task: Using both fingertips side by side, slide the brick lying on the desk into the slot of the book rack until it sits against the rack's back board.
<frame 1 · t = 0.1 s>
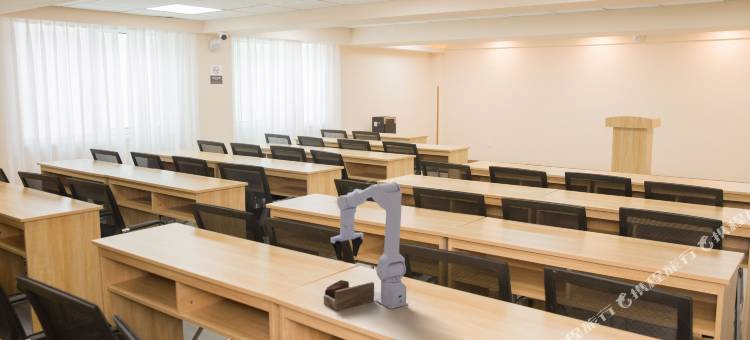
hand: (347, 257, 236), 10 cm above the table, tool pointing down, fingers open, 7 cm apart
brick: (337, 296, 222), on the table
book rack: (354, 305, 213), on the table
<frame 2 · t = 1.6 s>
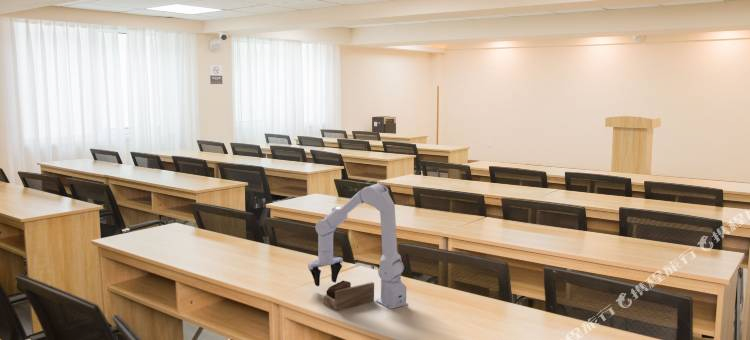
hand: (325, 283, 228), 2 cm above the table, tool pointing down, fingers open, 7 cm apart
nothing on the table moved.
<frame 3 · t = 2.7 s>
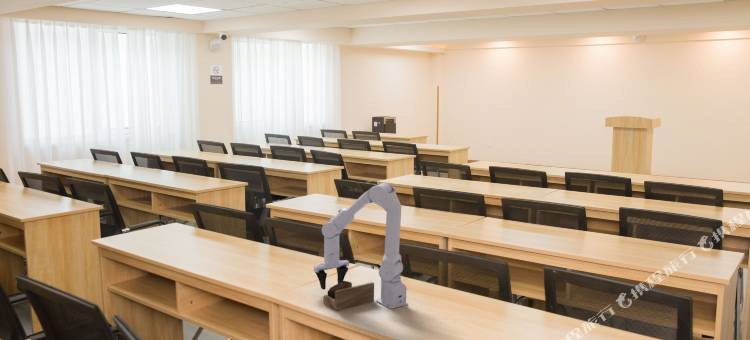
hand: (331, 286, 225), 2 cm above the table, tool pointing down, fingers open, 7 cm apart
brick: (339, 297, 221), on the table, touching gripper
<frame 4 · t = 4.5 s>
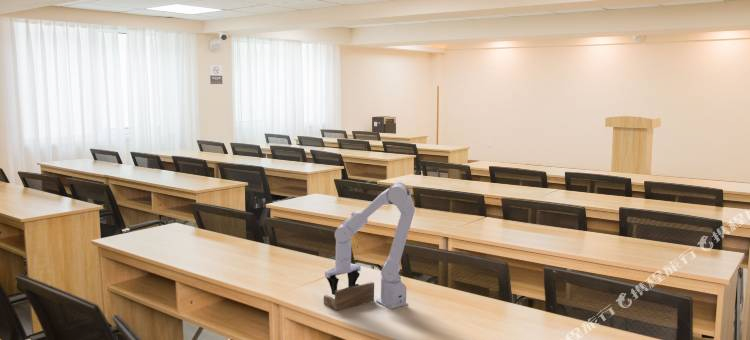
hand: (342, 292, 218), 3 cm above the table, tool pointing down, fingers open, 7 cm apart
brick: (348, 300, 217), on the table, touching book rack, gripper
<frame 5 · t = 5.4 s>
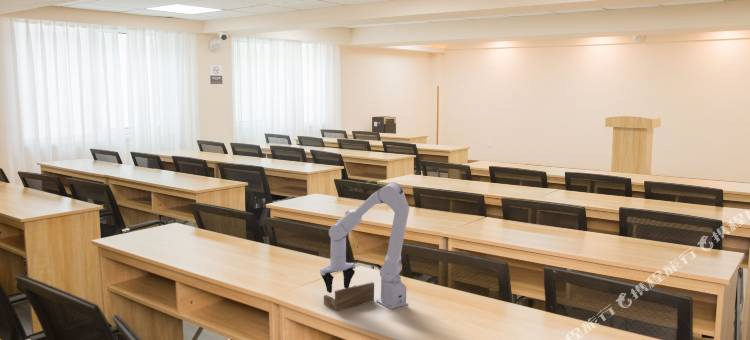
hand: (337, 290, 221), 2 cm above the table, tool pointing down, fingers open, 7 cm apart
brick: (348, 302, 217), on the table
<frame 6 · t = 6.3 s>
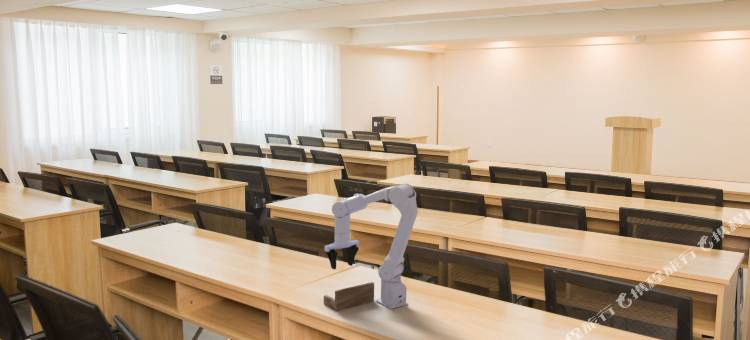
hand: (341, 266, 224), 10 cm above the table, tool pointing down, fingers open, 7 cm apart
nothing on the table moved.
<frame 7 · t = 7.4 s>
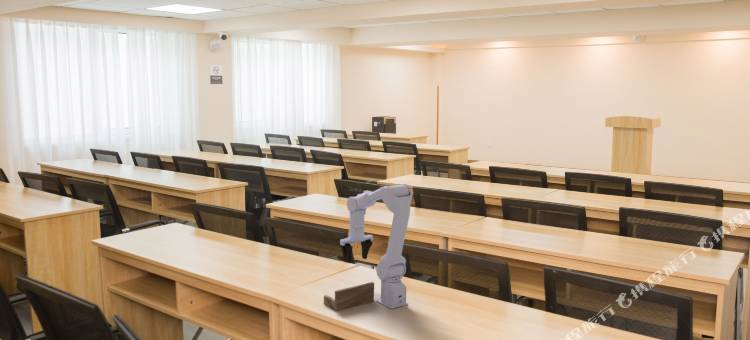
hand: (356, 260, 232), 10 cm above the table, tool pointing down, fingers open, 7 cm apart
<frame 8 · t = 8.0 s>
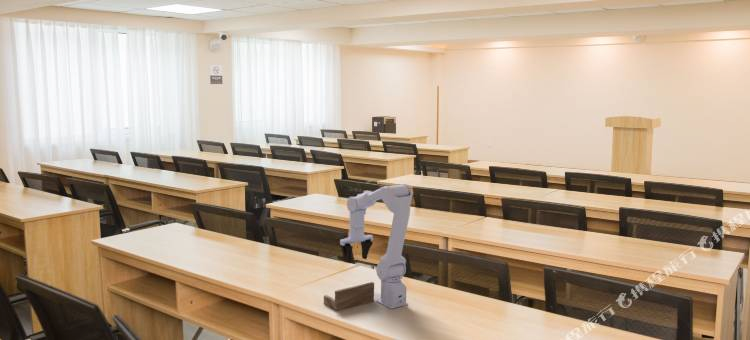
hand: (356, 260, 232), 10 cm above the table, tool pointing down, fingers open, 7 cm apart
at the end: brick 1.2 cm from the target spot, on the table; brick tilted 0°; the gripper is holding nothing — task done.
